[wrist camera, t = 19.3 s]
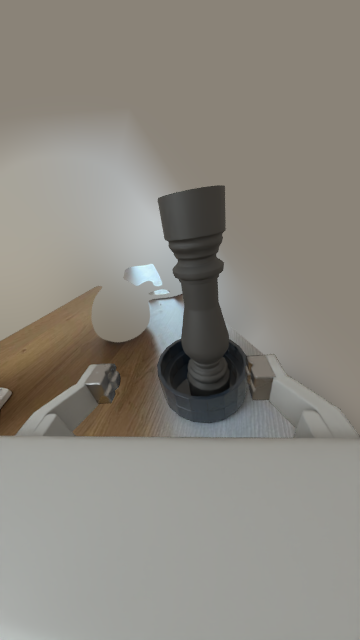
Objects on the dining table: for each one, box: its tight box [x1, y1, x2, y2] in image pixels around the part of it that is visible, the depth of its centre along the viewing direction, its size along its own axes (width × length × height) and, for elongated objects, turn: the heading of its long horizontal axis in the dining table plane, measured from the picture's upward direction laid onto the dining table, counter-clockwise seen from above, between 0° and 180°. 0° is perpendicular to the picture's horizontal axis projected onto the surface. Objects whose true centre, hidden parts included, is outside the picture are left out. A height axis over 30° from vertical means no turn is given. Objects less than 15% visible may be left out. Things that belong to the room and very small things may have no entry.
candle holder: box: [158, 186, 230, 396], centre depth 21 cm, size 6×6×25 cm
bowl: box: [157, 339, 247, 423], centre depth 27 cm, size 13×13×6 cm
